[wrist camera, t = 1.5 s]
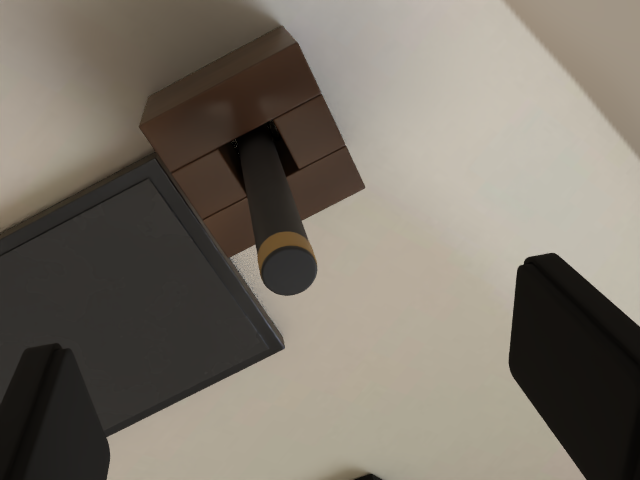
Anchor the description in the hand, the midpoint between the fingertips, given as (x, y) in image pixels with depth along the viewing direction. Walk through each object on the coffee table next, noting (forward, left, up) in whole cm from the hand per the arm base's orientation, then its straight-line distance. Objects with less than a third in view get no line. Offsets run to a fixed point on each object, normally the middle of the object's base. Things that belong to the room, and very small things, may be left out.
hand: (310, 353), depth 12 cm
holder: (0, 0, -15) cm, 15 cm away
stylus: (0, 0, -15) cm, 15 cm away
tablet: (+5, -12, -15) cm, 19 cm away
